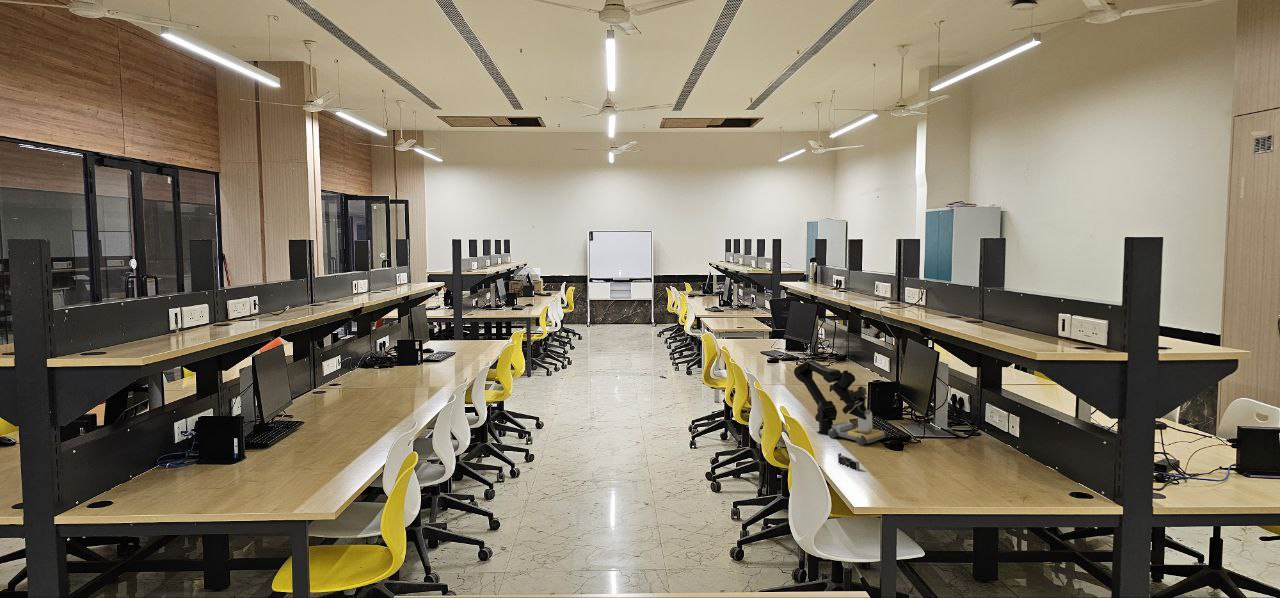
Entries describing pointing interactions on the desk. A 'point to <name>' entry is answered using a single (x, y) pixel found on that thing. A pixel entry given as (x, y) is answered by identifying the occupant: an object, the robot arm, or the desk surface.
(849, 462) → the graphics card
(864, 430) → the grey block
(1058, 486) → the desk surface
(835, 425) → the truck
